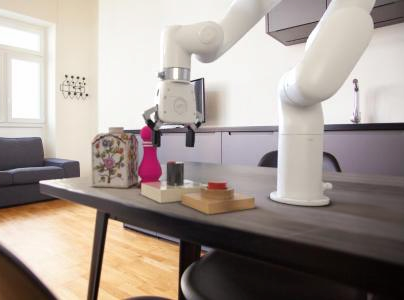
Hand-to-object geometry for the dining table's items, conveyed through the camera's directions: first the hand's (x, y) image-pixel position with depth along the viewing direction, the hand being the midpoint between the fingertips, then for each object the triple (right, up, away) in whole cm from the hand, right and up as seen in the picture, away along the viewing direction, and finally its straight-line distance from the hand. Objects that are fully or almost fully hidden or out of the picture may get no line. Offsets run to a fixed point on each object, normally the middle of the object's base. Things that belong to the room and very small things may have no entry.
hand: (173, 147), depth 74 cm
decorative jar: (-17, -12, +18) cm, 27 cm away
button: (+9, -9, -10) cm, 16 cm away
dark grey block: (0, -9, 0) cm, 9 cm away
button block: (+9, -13, -10) cm, 18 cm away
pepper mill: (-6, -12, +14) cm, 19 cm away
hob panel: (0, -12, +1) cm, 12 cm away
